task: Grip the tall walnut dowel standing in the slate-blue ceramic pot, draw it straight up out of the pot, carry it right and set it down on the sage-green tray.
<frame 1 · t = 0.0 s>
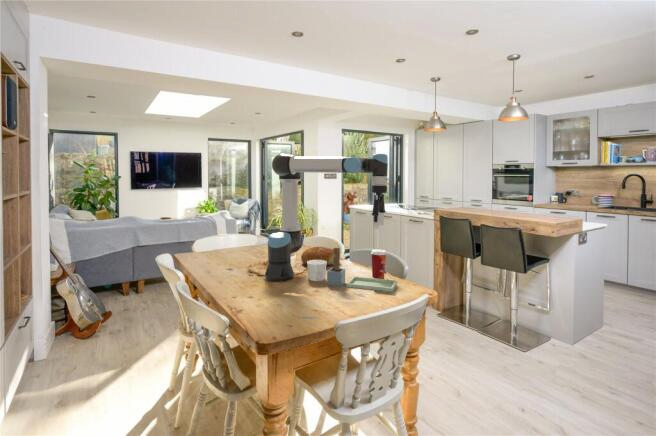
hand: (378, 226, 200), 28 cm above the table, fingers open, 13 cm apart
bread: (320, 264, 240), on the table
dowel: (336, 283, 193), point 1 cm above the table, touching pot
coffee cup: (378, 279, 206), on the table
cup: (316, 281, 201), on the table
tray: (371, 287, 191), on the table
pot: (336, 285, 193), on the table
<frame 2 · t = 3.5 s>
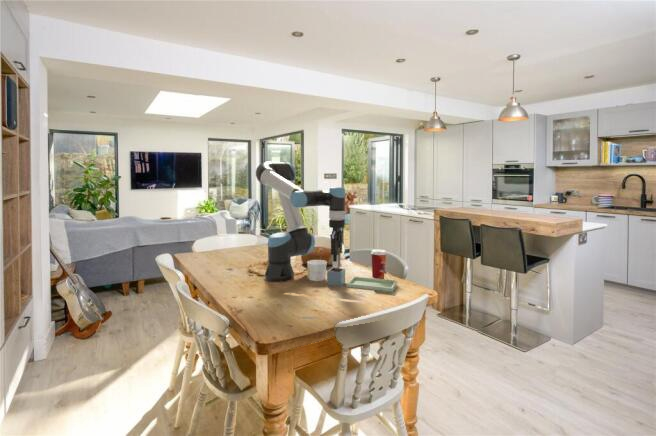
hand: (336, 266, 192), 10 cm above the table, fingers closed on dowel, 3 cm apart
dowel: (336, 283, 193), point 1 cm above the table, touching gripper, pot
everything else where it was.
when the fingers open (11 cm above the table, at t = 10.2 s): dowel drops 2 cm, resting on tray.
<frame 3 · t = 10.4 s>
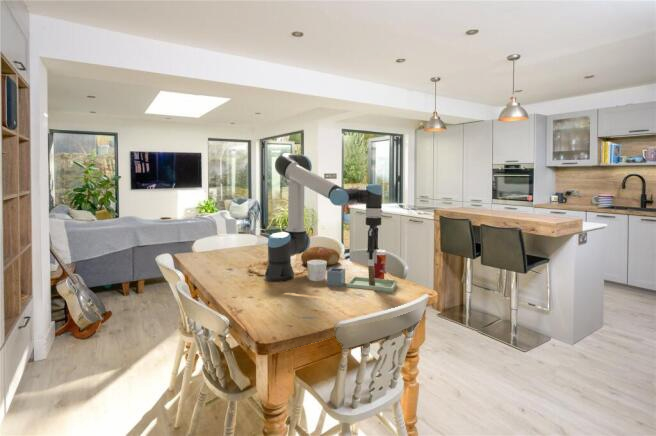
hand: (372, 264, 190), 11 cm above the table, fingers open, 6 cm apart
dowel: (371, 284, 191), point 1 cm above the table, touching tray
everything else where it was.
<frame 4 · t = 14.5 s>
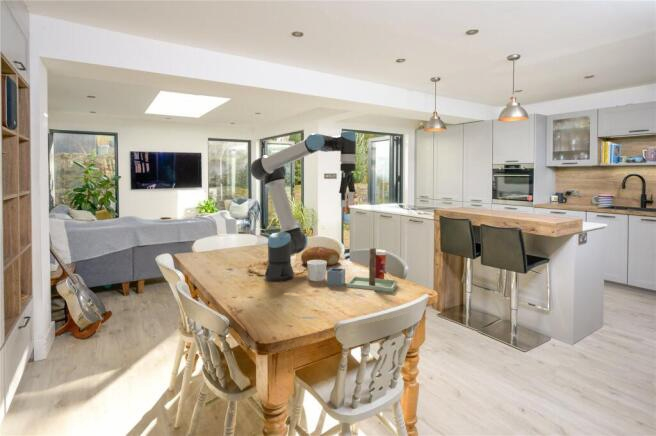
hand: (347, 205, 198), 39 cm above the table, fingers open, 13 cm apart
at the end: dowel inside the target area on the tray (0.0 cm from its centre), point 1.0 cm above the tray's base; dowel touching tray; the gripper is holding nothing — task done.
